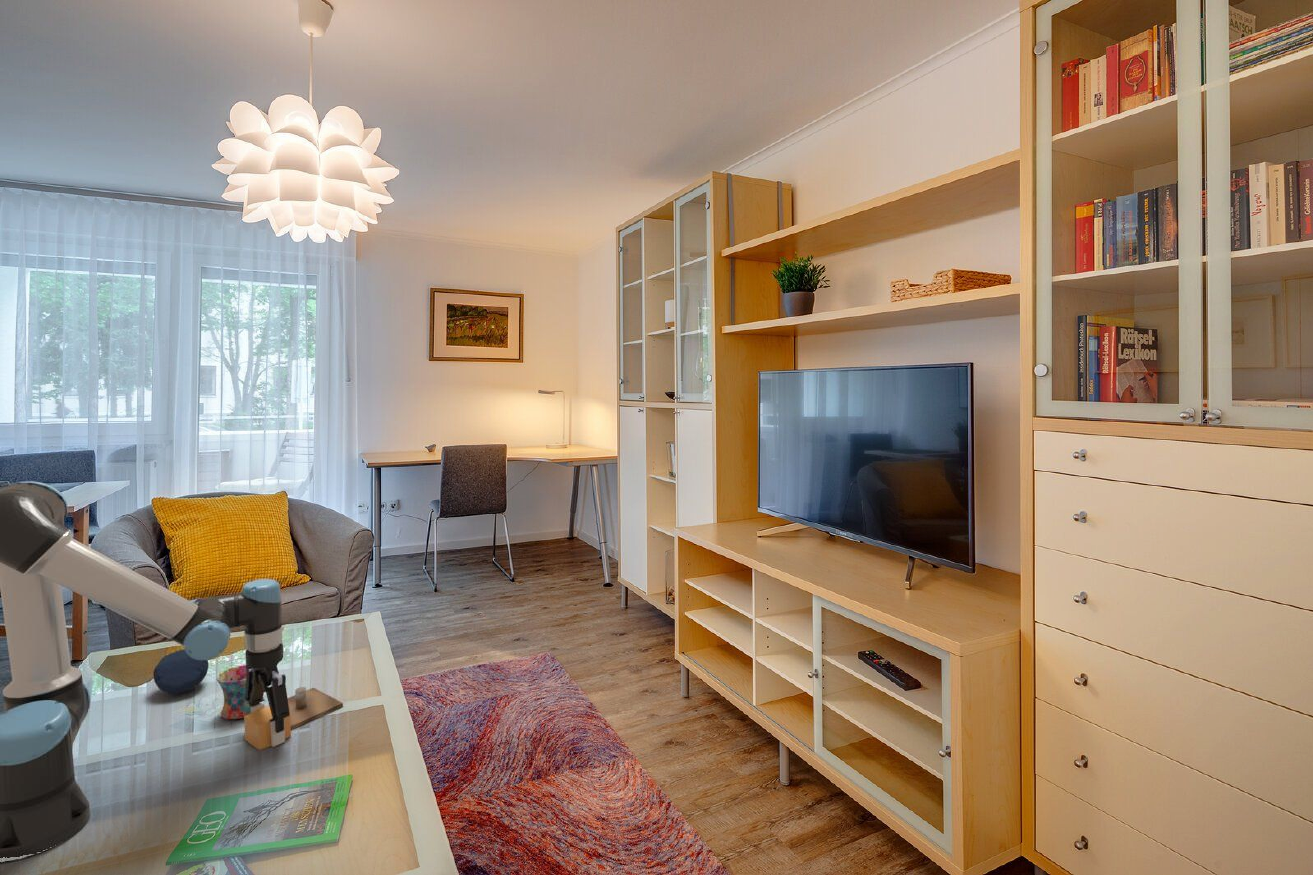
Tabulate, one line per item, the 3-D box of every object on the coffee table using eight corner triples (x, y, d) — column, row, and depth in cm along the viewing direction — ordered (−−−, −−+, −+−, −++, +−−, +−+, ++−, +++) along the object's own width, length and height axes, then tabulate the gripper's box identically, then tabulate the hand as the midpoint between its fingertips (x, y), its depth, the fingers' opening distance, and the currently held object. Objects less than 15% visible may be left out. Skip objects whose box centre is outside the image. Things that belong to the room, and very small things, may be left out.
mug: (217, 726, 156) (215, 685, 155) (219, 709, 164) (217, 669, 163) (274, 713, 163) (272, 673, 161) (274, 697, 170) (272, 659, 169)
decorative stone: (153, 689, 174) (150, 654, 172) (206, 675, 181) (204, 642, 180) (156, 706, 165) (154, 669, 164) (212, 691, 173) (210, 656, 172)
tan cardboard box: (260, 750, 147) (258, 725, 147) (245, 739, 151) (244, 716, 150) (291, 735, 153) (290, 712, 152) (276, 726, 157) (275, 703, 156)
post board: (287, 731, 155) (286, 709, 154) (259, 713, 162) (258, 692, 162) (342, 706, 167) (342, 686, 166) (313, 690, 174) (312, 671, 174)
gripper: (304, 652, 147) (308, 744, 149) (258, 629, 159) (262, 716, 161) (270, 664, 141) (274, 760, 143) (225, 640, 152) (229, 729, 155)
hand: (268, 736), depth 152 cm, fingers open, 8 cm apart
